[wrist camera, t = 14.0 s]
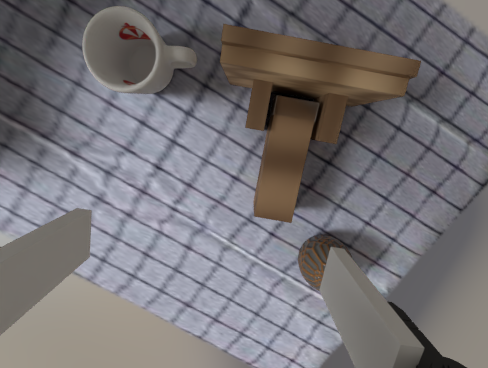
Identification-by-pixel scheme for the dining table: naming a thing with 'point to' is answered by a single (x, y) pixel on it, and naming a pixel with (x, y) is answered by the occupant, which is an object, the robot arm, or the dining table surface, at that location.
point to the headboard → (310, 75)
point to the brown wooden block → (284, 157)
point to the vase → (316, 257)
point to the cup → (131, 52)
